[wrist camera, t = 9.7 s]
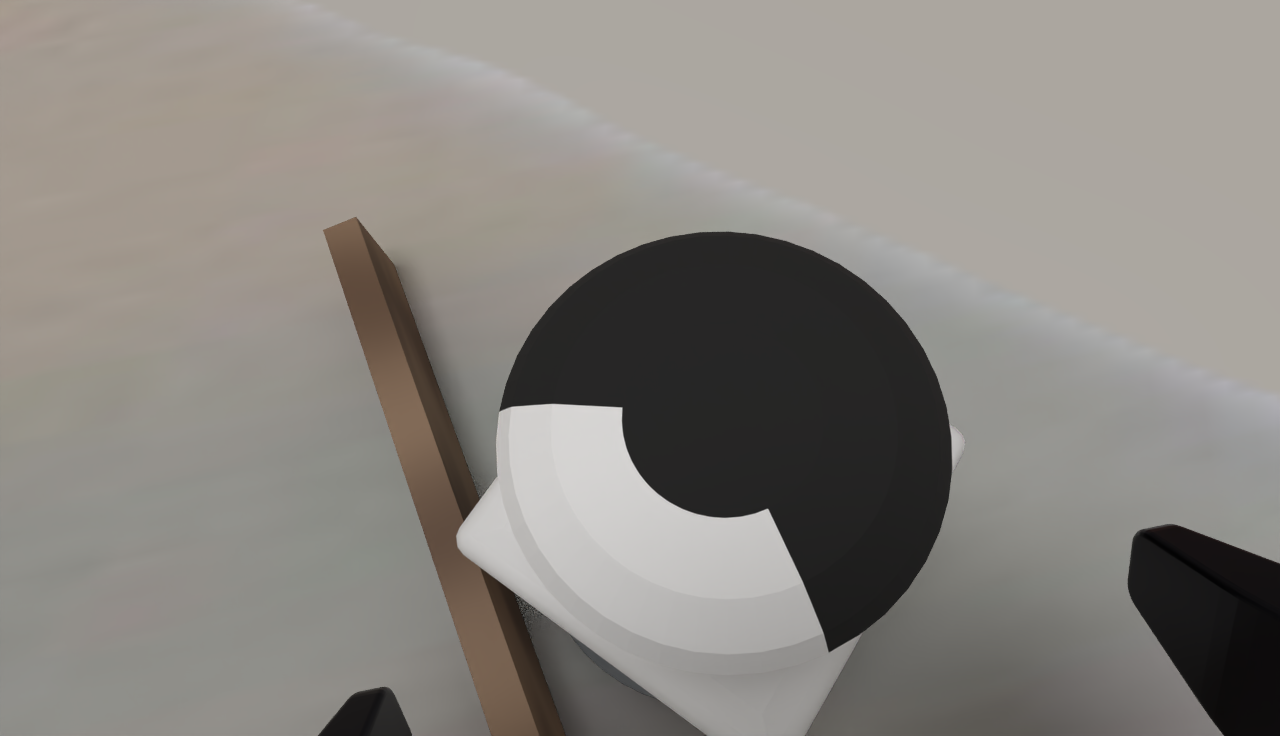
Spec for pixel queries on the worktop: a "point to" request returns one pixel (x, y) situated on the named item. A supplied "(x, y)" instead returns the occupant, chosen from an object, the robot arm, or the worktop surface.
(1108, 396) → the worktop surface
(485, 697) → the board
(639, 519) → the medicine bottle
